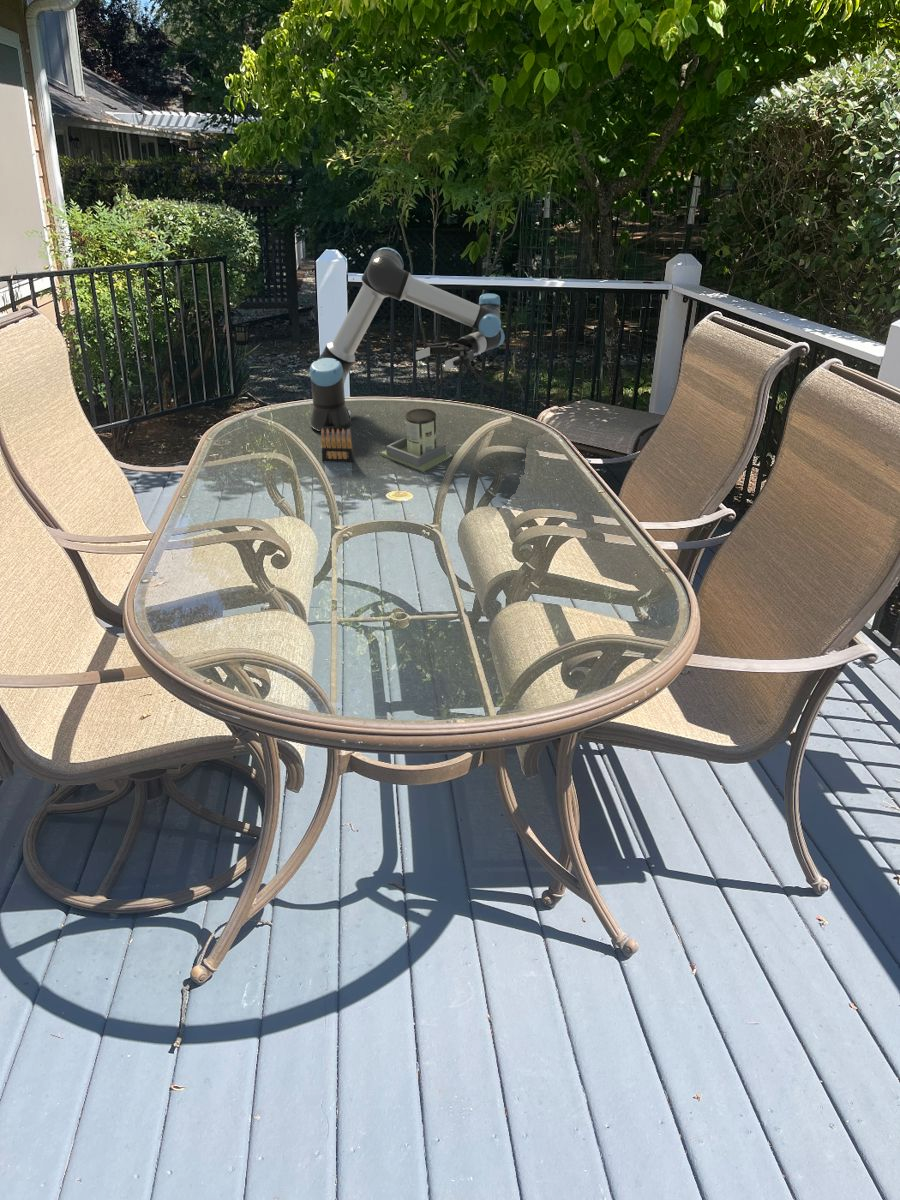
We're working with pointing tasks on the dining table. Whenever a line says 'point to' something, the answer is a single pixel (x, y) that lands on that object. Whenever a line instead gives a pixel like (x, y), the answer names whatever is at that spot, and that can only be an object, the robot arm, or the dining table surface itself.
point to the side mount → (422, 462)
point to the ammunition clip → (336, 447)
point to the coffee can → (420, 431)
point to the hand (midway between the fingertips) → (430, 360)
